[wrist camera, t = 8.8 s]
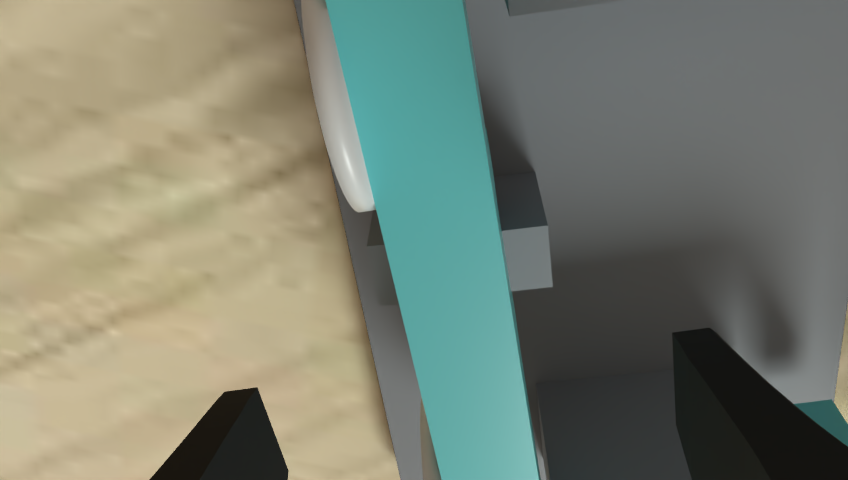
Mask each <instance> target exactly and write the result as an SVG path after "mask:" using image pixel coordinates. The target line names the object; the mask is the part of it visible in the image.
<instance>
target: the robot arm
mask: <svg viewBox="0 0 848 480" xmlns="http://www.w3.org/2000/svg"><path fill="white" fill-rule="evenodd" d="M672 343H673V366H674V390H675V414H676V426H677V430H678V434H679V437H680V441H681V444H682V448H683V451H684V455H685V458H686V462H687V465H688V468H689V472H690V475H691V478H692V480H848V446H847V445H845V444H844V443H842V442H841V441H840V440H838V439H837V438H836V437H835V436H833V435H832V434H831V433H829V432H828V431H827V430H825V429H824V428H823V427H821V426H820V425H819V424H818V423H816V422H815V421H814V420H813V419H811V418H810V417H809V416H808V415H806V414H805V413H804V412H803V411H801V410H800V409H799V408H798V407H797V406H795V405H794V404H793V403H792V402H791V401H790V400H788V399H787V398H786V397H785V396H784V395H783V394H781V393H780V392H779V391H778V390H777V389H776V388H774V387H773V386H772V385H771V384H770V383H769V382H768V381H767V380H765V379H764V378H763V377H762V376H761V375H760V374H759V373H758V372H757V371H756V370H755V369H753V368H752V367H751V366H750V365H749V364H748V363H747V362H746V361H745V360H744V359H743V358H742V357H741V356H740V355H739V354H738V353H737V352H736V351H735V350H733V349H732V348H731V347H730V346H729V345H728V344H727V343H726V342H725V341H724V340H723V339H722V338H721V337H720V336H719V335H718V334H717V333H716V332H715V331H714V330H712V329H711V328H702V329H695V330H687V331H680V332H672ZM150 480H288V469H287V466H286V463H285V460H284V458H283V455H282V452H281V450H280V447H279V444H278V442H277V439H276V436H275V434H274V431H273V428H272V426H271V423H270V420H269V418H268V415H267V412H266V410H265V407H264V404H263V402H262V399H261V396H260V394H259V391H258V388H250V389H242V390H235V391H227V392H224V393H223V394H222V395H221V396H220V397H219V399H218V400H217V401H216V402H215V403H214V404H213V405H212V407H211V408H210V409H209V410H208V411H207V413H206V414H205V415H204V416H203V417H202V419H201V420H200V421H199V422H198V423H197V425H196V426H195V427H194V428H193V429H192V431H191V432H190V433H189V434H188V435H187V437H186V438H185V439H184V440H183V441H182V443H181V444H180V445H179V446H178V447H177V448H176V450H175V451H174V452H173V453H172V454H171V455H170V457H169V458H168V459H167V460H166V461H165V462H164V464H163V465H162V466H161V467H160V468H159V469H158V471H157V472H156V473H155V474H154V475H153V476H152V478H151V479H150Z"/></svg>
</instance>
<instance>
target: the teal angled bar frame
mask: <svg viewBox="0 0 848 480" xmlns="http://www.w3.org/2000/svg"><path fill="white" fill-rule="evenodd" d="M301 9H302V22H303V32H304V40H305V48H306V55H307V62H308V68H309V74H310V79H311V84H312V90H313V95H314V99H315V104H316V109H317V113H318V117H319V121H320V125H321V129H322V133H323V137H324V140H325V144H326V148H327V151H328V154H329V157H330V160H331V163H332V167H333V169H334V172H335V175H336V177H337V180H338V182H339V185H340V187H341V189H342V192H343V194H344V196H345V197H346V199H347V201H348V203H349V204H350V206H351V207H352V208H353V209H354V210H355V211H357V212H366V211H372V210H376V211H377V215H378V219H379V223H380V228H381V232H382V236H383V240H384V244H385V248H386V252H387V256H388V261H389V265H390V269H391V273H392V277H393V281H394V285H395V289H396V294H397V298H398V302H399V306H400V310H401V314H402V318H403V322H404V326H405V331H406V335H407V339H408V343H409V347H410V351H411V355H412V359H413V364H414V368H415V372H416V376H417V380H418V384H419V388H420V392H421V408H420V440H421V458H422V471H423V480H541V477H540V471H539V465H538V458H537V452H536V446H535V439H534V433H533V427H532V420H531V414H530V408H529V401H528V395H527V389H526V382H525V376H524V370H523V363H522V357H521V351H520V344H519V337H518V329H517V322H516V314H515V307H514V301H513V295H512V291H511V287H510V281H509V275H508V268H507V262H506V256H505V249H504V243H503V237H502V230H501V224H500V218H499V211H498V205H497V197H496V189H495V181H494V174H493V168H492V161H491V155H490V149H489V142H488V136H487V130H486V128H485V123H484V116H483V110H482V104H481V97H480V91H479V85H478V78H477V72H476V66H475V59H474V53H473V47H472V40H471V34H470V28H469V21H468V15H467V9H466V2H465V0H301ZM794 405H795V406H797V407H798V408H799V409H800V410H801V411H803V412H804V413H805V414H806V415H808V416H809V417H810V418H811V419H813V420H814V421H815V422H816V423H818V424H819V425H820V426H821V427H823V428H824V429H825V430H827V431H828V432H829V433H831V434H832V435H833V436H835V437H836V438H837V439H838V440H840V441H841V442H842V443H844V444H845V445H847V446H848V424H847V423H846V421H845V420H844V418H843V416H842V415H841V413H840V412H839V410H838V409H837V407H836V405H835V404H834V402H833V401H832V399H830V400H822V401H814V402H806V403H797V404H794Z"/></svg>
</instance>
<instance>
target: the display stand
mask: <svg viewBox="0 0 848 480" xmlns="http://www.w3.org/2000/svg"><path fill="white" fill-rule="evenodd" d="M465 2H466V9H467V15H468V21H469V28H470V34H471V40H472V47H473V53H474V59H475V66H476V72H477V78H478V85H479V91H480V97H481V104H482V110H483V116H484V123H485V128H486V130H487V136H488V142H489V149H490V155H491V161H492V168H493V174H494V181H495V189H496V197H497V205H498V211H499V218H500V224H501V230H502V237H503V243H504V249H505V256H506V262H507V268H508V275H509V281H510V287H511V291H512V295H513V301H514V307H515V314H516V322H517V329H518V337H519V344H520V351H521V357H522V363H523V370H524V376H525V382H526V389H527V395H528V401H529V408H530V414H531V420H532V427H533V433H534V439H535V446H536V452H537V458H538V465H539V471H540V477H541V480H692V478H691V475H690V472H689V468H688V465H687V462H686V458H685V455H684V451H683V448H682V444H681V441H680V437H679V434H678V430H677V426H676V414H675V390H674V366H673V343H672V332H680V331H687V330H695V329H702V328H711V329H712V330H714V331H715V332H716V333H717V334H718V335H719V336H720V337H721V338H722V339H723V340H724V341H725V342H726V343H727V344H728V345H729V346H730V347H731V348H732V349H733V350H735V351H736V352H737V353H738V354H739V355H740V356H741V357H742V358H743V359H744V360H745V361H746V362H747V363H748V364H749V365H750V366H751V367H752V368H753V369H755V370H756V371H757V372H758V373H759V374H760V375H761V376H762V377H763V378H764V379H765V380H767V381H768V382H769V383H770V384H771V385H772V386H773V387H774V388H776V389H777V390H778V391H779V392H780V393H781V394H783V395H784V396H785V397H786V398H787V399H788V400H790V401H791V402H792V403H793V404H797V403H806V402H814V401H822V400H830V399H832V401H833V402H834V397H835V389H836V382H837V375H838V368H839V360H840V353H841V346H842V339H843V331H844V324H845V317H846V309H847V302H848V0H465ZM294 4H295V8H296V13H297V17H298V21H299V26H300V30H301V35H302V39H303V44H304V48H305V40H304V32H303V22H302V9H301V0H294ZM305 53H306V48H305ZM306 57H307V55H306ZM328 156H329V154H328ZM329 160H330V157H329ZM330 165H331V169H332V174H333V178H334V183H335V187H336V192H337V196H338V201H339V205H340V210H341V214H342V219H343V223H344V228H345V232H346V237H347V241H348V246H349V250H350V255H351V259H352V264H353V268H354V273H355V277H356V281H357V286H358V290H359V295H360V299H361V304H362V308H363V313H364V317H365V322H366V326H367V331H368V335H369V340H370V344H371V349H372V353H373V358H374V362H375V367H376V371H377V376H378V380H379V385H380V389H381V394H382V398H383V402H384V407H385V411H386V416H387V420H388V425H389V429H390V434H391V438H392V443H393V447H394V452H395V456H396V461H397V465H398V470H399V474H400V479H401V480H423V471H422V458H421V440H420V408H421V392H420V388H419V384H418V380H417V376H416V372H415V368H414V364H413V359H412V355H411V351H410V347H409V343H408V339H407V335H406V331H405V326H404V322H403V318H402V314H401V310H400V306H399V302H398V298H397V294H396V289H395V285H394V281H393V277H392V273H391V269H390V265H389V261H388V256H387V252H386V248H385V244H384V240H383V236H382V232H381V228H380V223H379V219H378V215H377V211H376V210H372V211H366V212H357V211H355V210H354V209H353V208H352V207H351V206H350V204H349V203H348V201H347V199H346V197H345V196H344V194H343V192H342V189H341V187H340V185H339V182H338V180H337V177H336V175H335V172H334V169H333V167H332V163H331V160H330Z"/></svg>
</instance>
